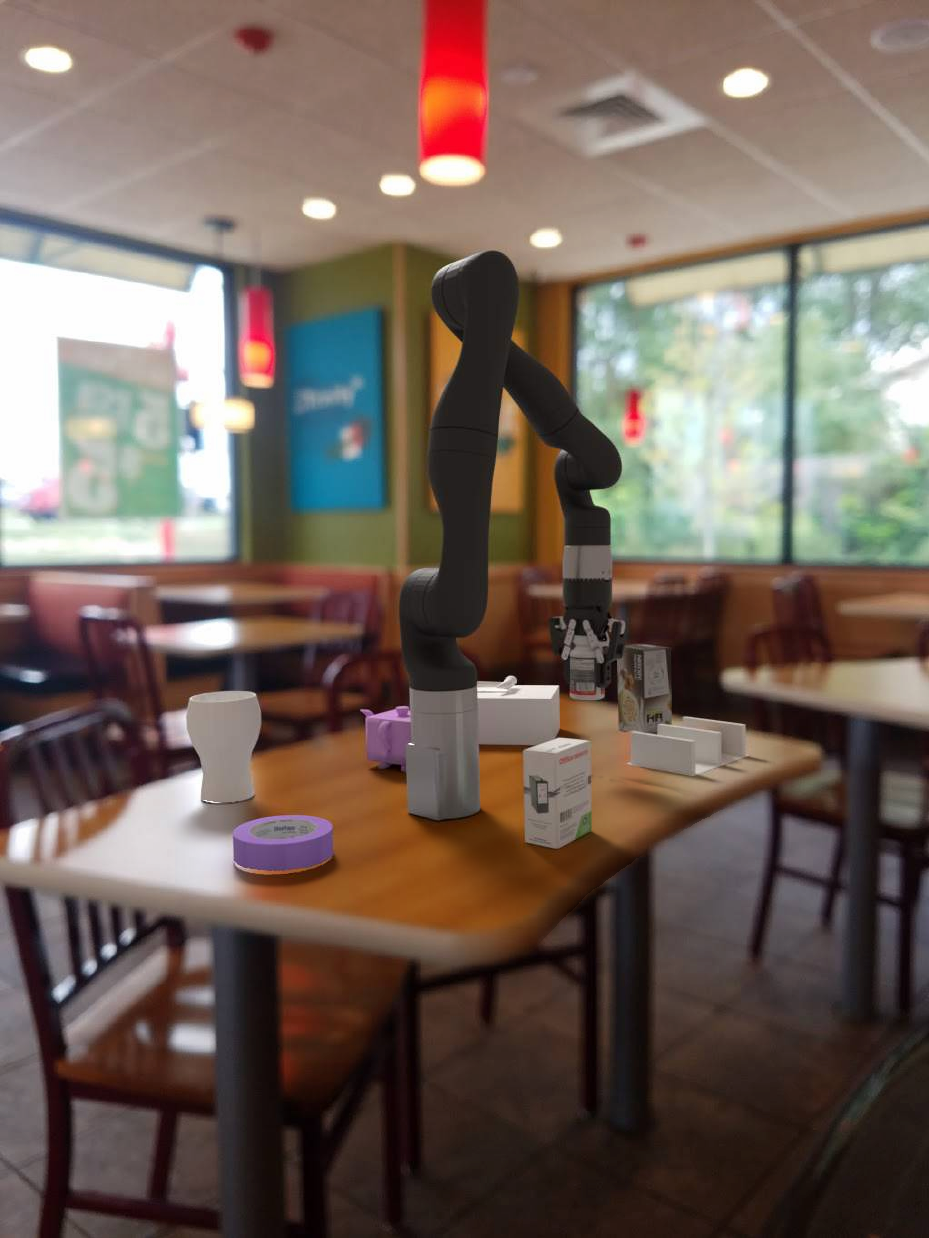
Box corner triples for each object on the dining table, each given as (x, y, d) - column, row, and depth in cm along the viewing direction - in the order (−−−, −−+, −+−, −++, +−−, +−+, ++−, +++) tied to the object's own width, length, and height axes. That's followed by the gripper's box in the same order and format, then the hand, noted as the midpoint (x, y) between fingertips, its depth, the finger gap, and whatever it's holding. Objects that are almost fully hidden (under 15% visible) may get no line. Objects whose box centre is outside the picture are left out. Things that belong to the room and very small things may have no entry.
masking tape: (305, 837, 123) (304, 808, 122) (351, 861, 113) (350, 829, 113) (218, 857, 116) (216, 826, 115) (259, 884, 106) (258, 851, 106)
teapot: (474, 762, 159) (472, 703, 158) (427, 780, 148) (425, 717, 148) (388, 750, 169) (387, 695, 168) (339, 767, 158) (336, 708, 158)
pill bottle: (586, 694, 152) (586, 632, 152) (612, 698, 148) (612, 634, 147) (562, 697, 149) (562, 634, 148) (587, 701, 145) (587, 637, 144)
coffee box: (673, 734, 176) (673, 647, 175) (645, 738, 174) (644, 650, 172) (644, 725, 185) (643, 642, 183) (616, 729, 182) (615, 645, 181)
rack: (693, 782, 143) (692, 742, 142) (626, 769, 151) (625, 732, 151) (749, 761, 155) (749, 724, 154) (685, 750, 163) (684, 715, 163)
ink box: (560, 825, 124) (558, 735, 123) (593, 831, 121) (592, 739, 120) (523, 843, 118) (521, 748, 117) (557, 850, 115) (555, 753, 114)
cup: (277, 788, 146) (272, 690, 144) (242, 808, 136) (237, 703, 134) (214, 785, 149) (209, 689, 147) (176, 804, 138) (170, 701, 137)
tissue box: (551, 746, 170) (550, 685, 169) (414, 744, 175) (412, 685, 174) (559, 730, 184) (558, 673, 183) (432, 728, 189) (431, 673, 188)
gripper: (535, 575, 149) (535, 683, 151) (610, 577, 139) (610, 692, 141) (566, 574, 155) (566, 678, 156) (640, 575, 145) (640, 687, 146)
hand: (587, 684), depth 148 cm, fingers closed on pill bottle, 5 cm apart
